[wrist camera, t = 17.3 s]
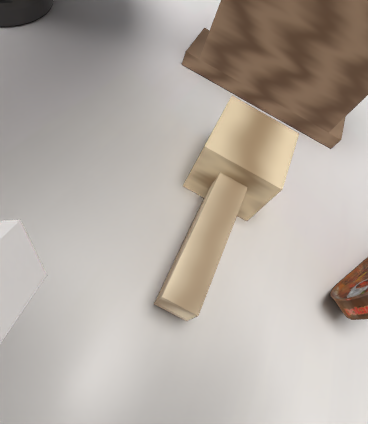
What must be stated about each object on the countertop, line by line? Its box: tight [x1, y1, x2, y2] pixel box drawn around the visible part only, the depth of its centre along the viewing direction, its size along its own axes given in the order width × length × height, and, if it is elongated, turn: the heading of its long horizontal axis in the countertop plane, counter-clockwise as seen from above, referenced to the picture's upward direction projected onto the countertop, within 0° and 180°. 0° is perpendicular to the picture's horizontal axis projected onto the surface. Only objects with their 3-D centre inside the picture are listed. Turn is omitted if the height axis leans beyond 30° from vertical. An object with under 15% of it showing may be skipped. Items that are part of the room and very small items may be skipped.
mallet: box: [154, 96, 299, 321], centre depth 29 cm, size 8×21×7 cm, turn 155°
